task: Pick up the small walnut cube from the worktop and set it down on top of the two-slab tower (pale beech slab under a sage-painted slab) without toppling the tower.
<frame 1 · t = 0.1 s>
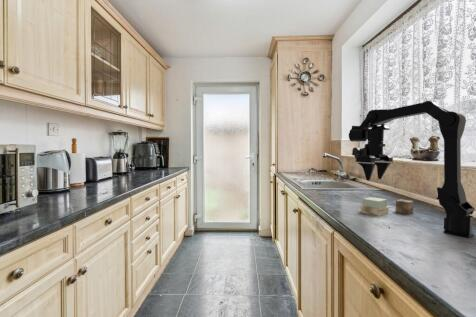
hand: (373, 179, 111), 14 cm above the counter, fingers open, 9 cm apart
walnut cube: (404, 212, 117), on the counter
beech slab: (374, 213, 116), on the counter, touching sage slab
sage slab: (374, 206, 116), point 3 cm above the counter, touching beech slab
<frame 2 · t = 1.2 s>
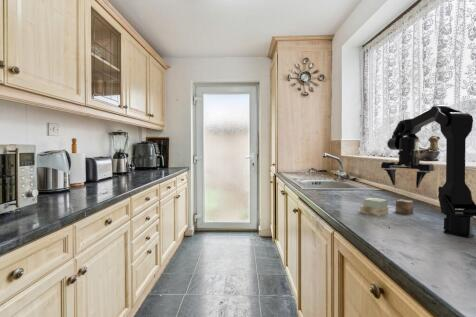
hand: (405, 186, 117), 11 cm above the counter, fingers open, 9 cm apart
beech slab: (374, 213, 116), on the counter
sage slab: (375, 206, 115), point 2 cm above the counter
everything else where it was.
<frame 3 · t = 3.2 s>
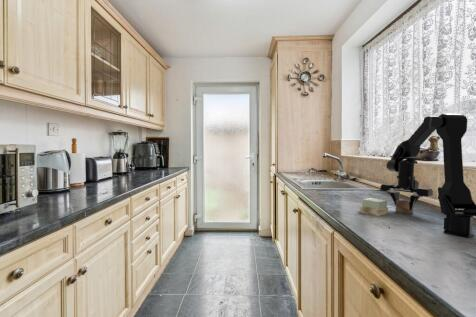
hand: (404, 209, 117), 1 cm above the counter, fingers closed on walnut cube, 5 cm apart
walnut cube: (404, 211, 117), on the counter, touching gripper
beech slab: (373, 213, 116), on the counter, touching sage slab
sage slab: (374, 206, 115), point 2 cm above the counter, touching beech slab
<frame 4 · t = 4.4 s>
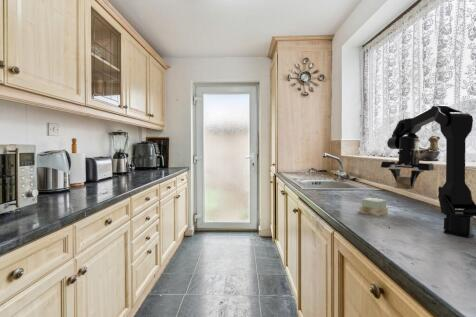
hand: (405, 185, 117), 11 cm above the counter, fingers closed on walnut cube, 5 cm apart
walnut cube: (405, 188, 117), point 10 cm above the counter, touching gripper
everything else where it was.
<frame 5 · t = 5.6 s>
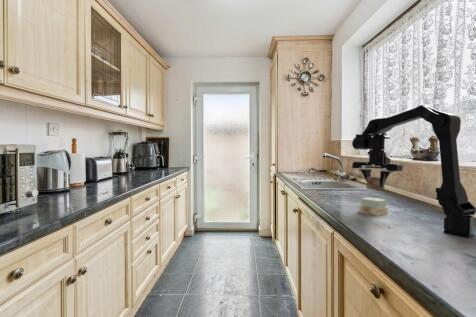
hand: (375, 186, 115), 11 cm above the counter, fingers closed on walnut cube, 5 cm apart
walnut cube: (375, 188, 115), point 10 cm above the counter, touching gripper
beech slab: (373, 213, 115), on the counter
sage slab: (373, 206, 116), point 3 cm above the counter
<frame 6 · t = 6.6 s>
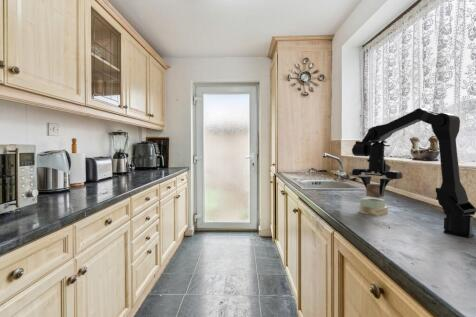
hand: (375, 193, 115), 8 cm above the counter, fingers closed on walnut cube, 5 cm apart
walnut cube: (375, 196, 115), point 7 cm above the counter, touching gripper
everything else where it was.
when the fingers open (8 cm above the counter, at t = 7.0 s): walnut cube drops 1 cm, resting on sage slab.
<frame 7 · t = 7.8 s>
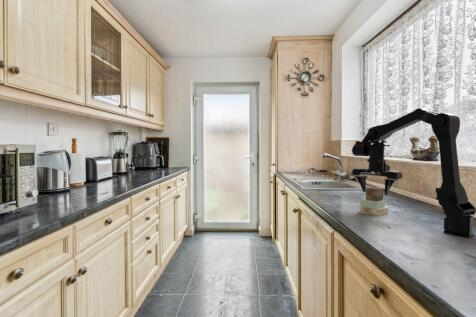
hand: (375, 193, 115), 8 cm above the counter, fingers open, 9 cm apart
walnut cube: (374, 199, 115), point 5 cm above the counter, touching sage slab
beech slab: (373, 213, 115), on the counter, touching sage slab
sage slab: (372, 206, 115), point 2 cm above the counter, touching beech slab, walnut cube
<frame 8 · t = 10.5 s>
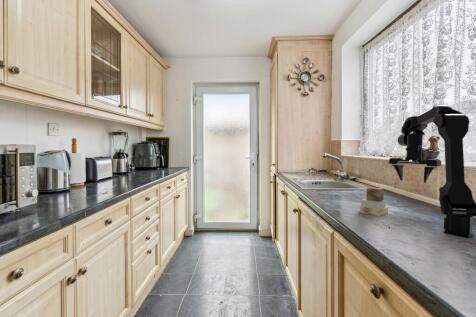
hand: (412, 181, 119), 13 cm above the counter, fingers open, 9 cm apart
nothing on the counter moved.
at the end: walnut cube 0.5 cm off-centre on the beech slab, point 6.0 cm above the beech slab's base; sage slab 0.4 cm off-centre on the beech slab, point 3.0 cm above the beech slab's base; walnut cube tilted 1° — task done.
